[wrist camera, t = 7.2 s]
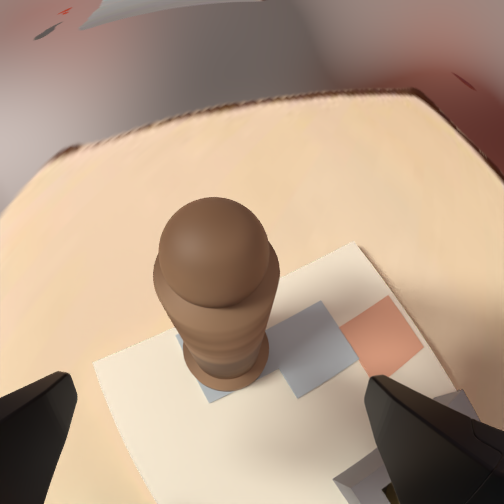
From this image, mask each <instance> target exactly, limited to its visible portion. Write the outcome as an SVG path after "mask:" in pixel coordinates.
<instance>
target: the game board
mask: <svg viewBox="0 0 504 504" xmlns="http://www.w3.org/2000/svg"><path fill="white" fill-rule="evenodd" d="M265 332H266V335H267V338H268V342H269V356H268V360H267V363H266V365H265V368H264V369H263V371H262V373H261V375H260V376H259V377H258V378H257V379H256V380H255V381H254V382H253V383H252V384H251V385H249V386H247V387H245V388H243V389H241V390H237V391H231V392H223V391H217V390H213V389H211V388H208V387H207V386H205V385H203V384H202V383H201V382H199V381H198V380H197V379H196V378H195V377H194V376H193V374H192V373H191V372H190V370H189V369H188V367H187V365H186V362H185V360H184V356H183V340H182V338H181V336H180V335H179V333H178V331H177V330H176V328H175V327H174V328H171V329H169V330H167V331H165V332H162V333H160V334H158V335H156V336H153V337H151V338H149V339H146V340H144V341H142V342H139V343H137V344H135V345H133V346H130V347H128V348H126V349H123V350H121V351H119V352H116V353H114V354H111V355H109V356H107V357H104V358H102V359H99V360H97V361H95V362H92V363H93V366H94V369H95V372H96V375H97V378H98V381H99V383H100V386H101V389H102V392H103V394H104V397H105V399H106V402H107V404H108V407H109V409H110V412H111V414H112V417H113V419H114V421H115V424H116V426H117V428H118V430H119V433H120V435H121V437H122V439H123V441H124V443H125V446H126V448H127V450H128V452H129V454H130V456H131V458H132V460H133V462H134V464H135V466H136V467H137V469H138V471H139V473H140V475H141V477H142V479H143V480H144V482H145V484H146V486H147V488H148V489H149V491H150V493H151V494H152V496H153V498H154V499H155V501H156V503H157V504H391V503H390V502H389V500H388V499H387V497H386V489H387V485H388V484H389V483H391V480H390V477H389V475H388V472H387V470H386V467H385V465H384V463H383V460H382V458H381V455H380V453H379V450H378V448H377V445H376V443H375V439H374V436H373V432H372V429H371V425H370V421H369V418H368V414H367V411H366V408H365V404H364V396H365V393H366V389H367V385H368V381H369V379H370V377H371V376H375V375H386V376H387V377H389V378H391V379H393V380H395V381H397V382H399V383H401V384H403V385H405V386H407V387H409V388H411V389H413V390H415V391H417V392H419V393H421V394H423V395H425V396H427V397H429V398H431V399H433V400H435V401H437V402H439V403H441V404H443V405H445V406H448V407H450V408H452V409H454V410H456V411H458V412H460V413H462V414H464V415H467V416H469V417H471V419H472V418H473V419H475V420H478V421H480V420H479V418H478V416H477V414H476V412H475V410H474V408H473V407H472V405H471V403H470V401H469V399H468V398H467V396H466V394H465V392H464V391H463V389H462V390H458V391H457V390H456V389H455V387H454V385H453V383H452V382H451V380H450V378H449V377H448V375H447V373H446V372H445V370H444V369H443V367H442V365H441V364H440V362H439V361H438V359H437V357H436V356H435V354H434V353H433V351H432V350H431V348H430V346H429V345H428V343H427V342H426V340H425V339H424V337H423V336H422V334H421V333H420V331H419V330H418V328H417V327H416V325H415V324H414V322H413V321H412V319H411V318H410V316H409V315H408V314H407V312H406V311H405V309H404V308H403V306H402V305H401V304H400V302H399V301H398V299H397V298H396V297H395V295H394V294H393V292H392V291H391V290H390V288H389V287H388V285H387V284H386V283H385V281H384V280H383V279H382V277H381V276H380V275H379V273H378V272H377V271H376V269H375V268H374V267H373V265H372V264H371V263H370V261H369V260H368V259H367V257H366V256H365V255H364V254H363V252H362V251H361V250H360V248H359V247H358V246H357V245H356V243H355V242H354V241H352V242H350V243H348V244H346V245H344V246H342V247H341V248H339V249H337V250H335V251H333V252H331V253H329V254H327V255H325V256H323V257H321V258H319V259H317V260H315V261H313V262H311V263H309V264H307V265H305V266H303V267H301V268H299V269H297V270H295V271H293V272H291V273H289V274H287V275H285V276H283V277H280V279H279V284H278V288H277V292H276V295H275V299H274V302H273V306H272V309H271V313H270V316H269V320H268V323H267V327H266V330H265Z"/></svg>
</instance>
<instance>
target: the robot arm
mask: <svg viewBox="0 0 504 504" xmlns="http://www.w3.org/2000/svg"><path fill="white" fill-rule="evenodd" d="M76 403H77V392H76V389H75V386H74V383H73V381H72V378H71V375H70V374H69V373H66V372H61V371H57V372H55V373H53V374H50V375H48V376H46V377H44V378H42V379H40V380H38V381H36V382H34V383H31V384H29V385H27V386H25V387H23V388H21V389H18V390H16V391H14V392H12V393H10V394H8V395H5V396H3V397H1V398H0V504H44V501H45V498H46V495H47V492H48V489H49V486H50V483H51V480H52V477H53V474H54V471H55V468H56V465H57V463H58V460H59V457H60V454H61V452H62V449H63V447H64V444H65V441H66V438H67V435H68V432H69V428H70V424H71V420H72V417H73V413H74V410H75V406H76ZM364 404H365V408H366V411H367V414H368V418H369V421H370V425H371V429H372V432H373V436H374V439H375V443H376V445H377V448H378V450H379V453H380V455H381V458H382V460H383V463H384V465H385V467H386V470H387V472H388V475H389V477H390V480H391V482H392V485H393V487H394V490H395V492H396V495H397V498H398V500H399V503H400V504H504V431H502V430H499V429H496V428H494V427H491V426H489V425H487V424H484V423H482V422H480V421H478V420H475V419H473V418H472V419H471V417H469V416H467V415H464V414H462V413H460V412H458V411H456V410H454V409H452V408H450V407H448V406H445V405H443V404H441V403H439V402H437V401H435V400H433V399H431V398H429V397H427V396H425V395H423V394H421V393H419V392H417V391H415V390H413V389H411V388H409V387H407V386H405V385H403V384H401V383H399V382H397V381H395V380H393V379H391V378H389V377H387V376H386V375H375V376H371V377H370V379H369V381H368V385H367V389H366V393H365V396H364Z"/></svg>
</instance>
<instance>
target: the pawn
mask: <svg viewBox="0 0 504 504" xmlns="http://www.w3.org/2000/svg"><path fill="white" fill-rule="evenodd" d="M279 279H280V268H279V262H278V258H277V255H276V253H275V250H274V249H273V247H272V245H271V244H270V243H269V241H268V238H267V235H266V232H265V230H264V228H263V226H262V224H261V223H260V221H259V220H258V219H257V217H256V216H255V215H254V214H253V213H252V212H251V211H250V210H249V209H247V208H246V207H245V206H243V205H241V204H240V203H238V202H235V201H233V200H230V199H226V198H219V197H209V198H202V199H199V200H195V201H193V202H191V203H188V204H187V205H185V206H183V207H182V208H181V209H179V210H178V211H177V212H176V213H175V214H174V215H173V216H172V217H171V218H170V220H169V221H168V223H167V224H166V226H165V228H164V230H163V232H162V235H161V238H160V243H159V253H158V255H157V258H156V261H155V264H154V271H153V281H154V287H155V290H156V293H157V296H158V298H159V300H160V302H161V304H162V305H163V307H164V309H165V311H166V312H167V314H168V316H169V318H170V319H171V321H172V323H173V325H174V326H175V328H176V330H177V331H178V333H179V335H180V336H181V338H182V340H183V356H184V360H185V362H186V365H187V367H188V369H189V370H190V372H191V373H192V374H193V376H194V377H195V378H196V379H197V380H198V381H199V382H201V383H202V384H203V385H205V386H207V387H208V388H211V389H213V390H217V391H223V392H231V391H237V390H241V389H243V388H245V387H247V386H249V385H251V384H252V383H253V382H254V381H255V380H256V379H257V378H258V377H259V376H260V375H261V373H262V371H263V369H264V368H265V365H266V363H267V360H268V356H269V342H268V338H267V335H266V332H265V330H266V327H267V323H268V320H269V316H270V313H271V309H272V306H273V302H274V299H275V295H276V292H277V288H278V284H279Z"/></svg>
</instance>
